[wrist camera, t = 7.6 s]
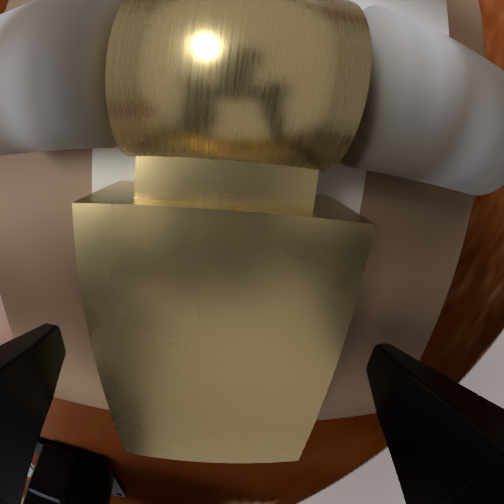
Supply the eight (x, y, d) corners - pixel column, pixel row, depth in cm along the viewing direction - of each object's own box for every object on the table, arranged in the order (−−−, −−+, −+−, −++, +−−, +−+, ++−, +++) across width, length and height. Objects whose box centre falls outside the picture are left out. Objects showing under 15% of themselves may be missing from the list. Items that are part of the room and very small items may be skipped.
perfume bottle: (285, 402, 11) (303, 483, 8) (139, 394, 11) (120, 474, 7) (346, 40, 7) (420, -8, 3) (137, 21, 6) (82, -42, 3)
